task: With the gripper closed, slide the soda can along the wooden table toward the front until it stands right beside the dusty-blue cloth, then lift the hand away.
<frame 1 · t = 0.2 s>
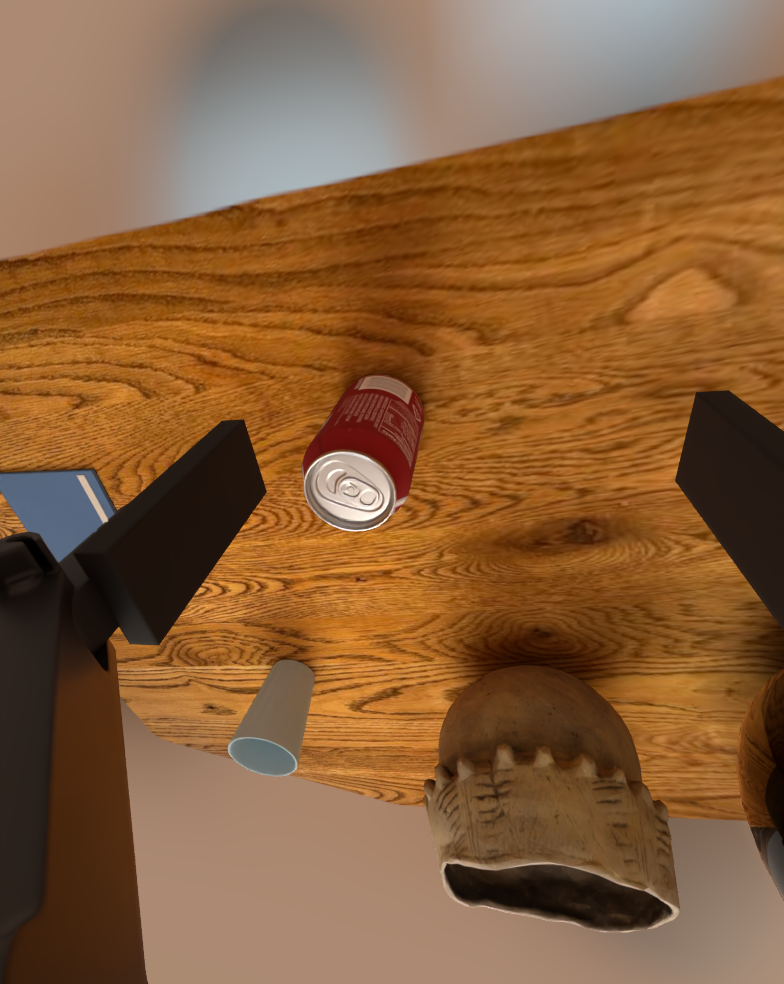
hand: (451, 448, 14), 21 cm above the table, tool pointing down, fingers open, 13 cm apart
clay pot: (524, 683, 52), on the table
cloth: (80, 535, 49), on the table
cup: (294, 671, 57), on the table
soda can: (383, 411, 36), on the table
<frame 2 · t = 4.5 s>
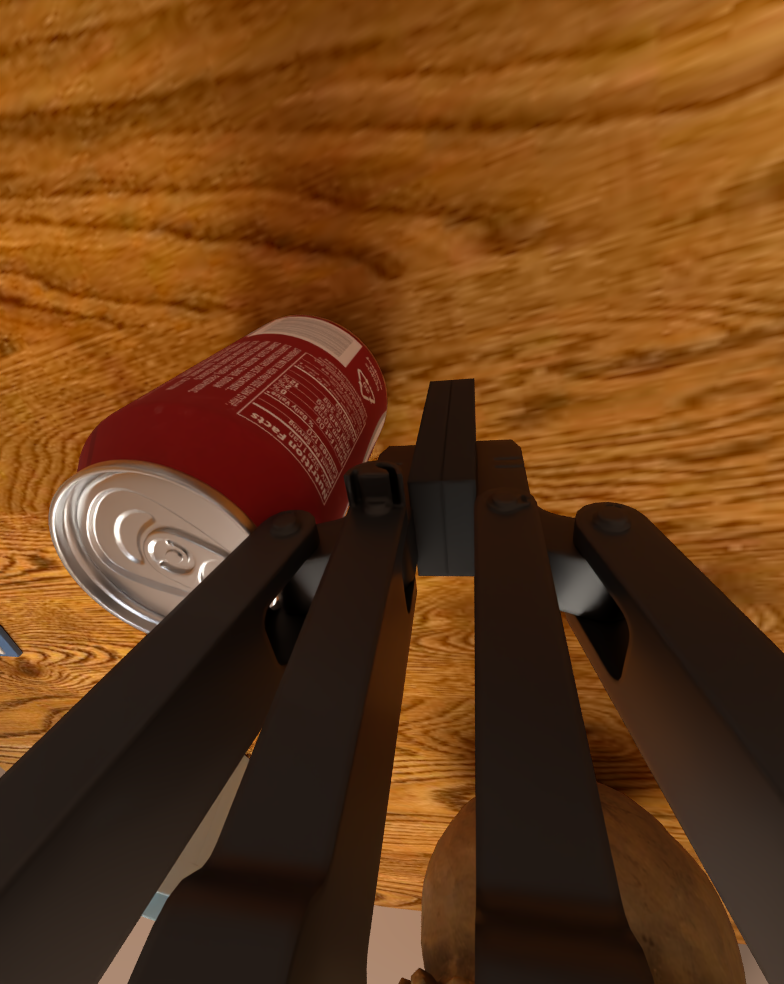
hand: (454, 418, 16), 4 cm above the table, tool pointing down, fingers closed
clay pot: (547, 788, 36), on the table
cup: (226, 758, 41), on the table
soda can: (318, 388, 21), on the table, touching gripper
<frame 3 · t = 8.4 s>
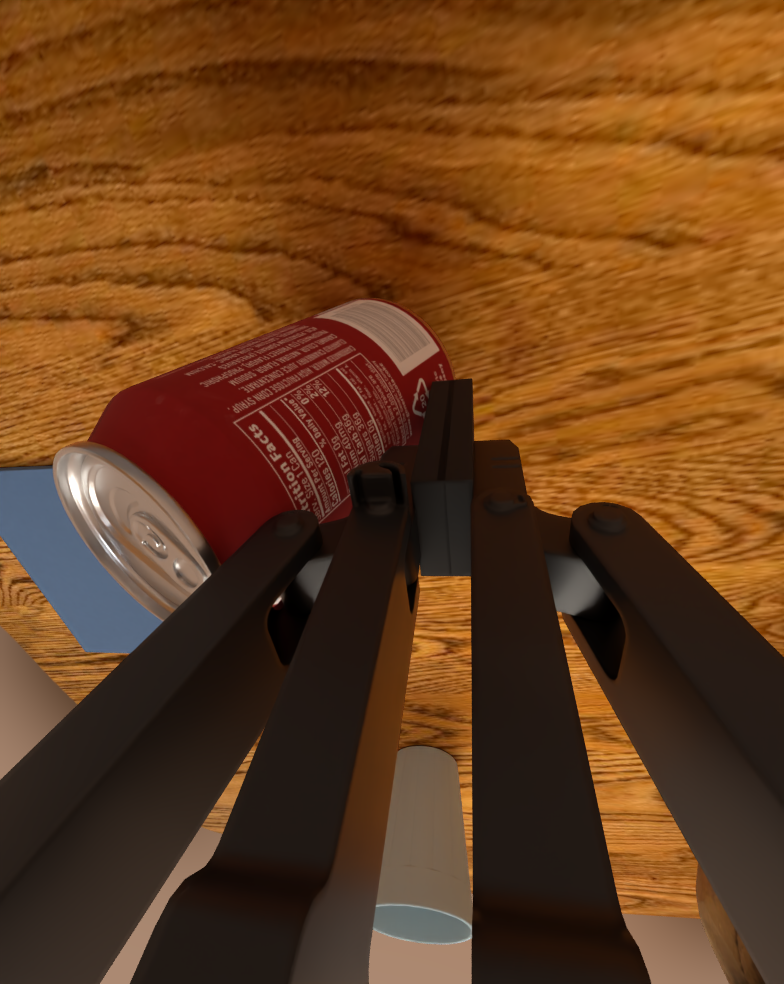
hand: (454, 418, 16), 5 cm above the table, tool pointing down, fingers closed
cloth: (111, 570, 30), on the table
cup: (425, 759, 39), on the table
soda can: (391, 377, 19), point 1 cm above the table, touching gripper
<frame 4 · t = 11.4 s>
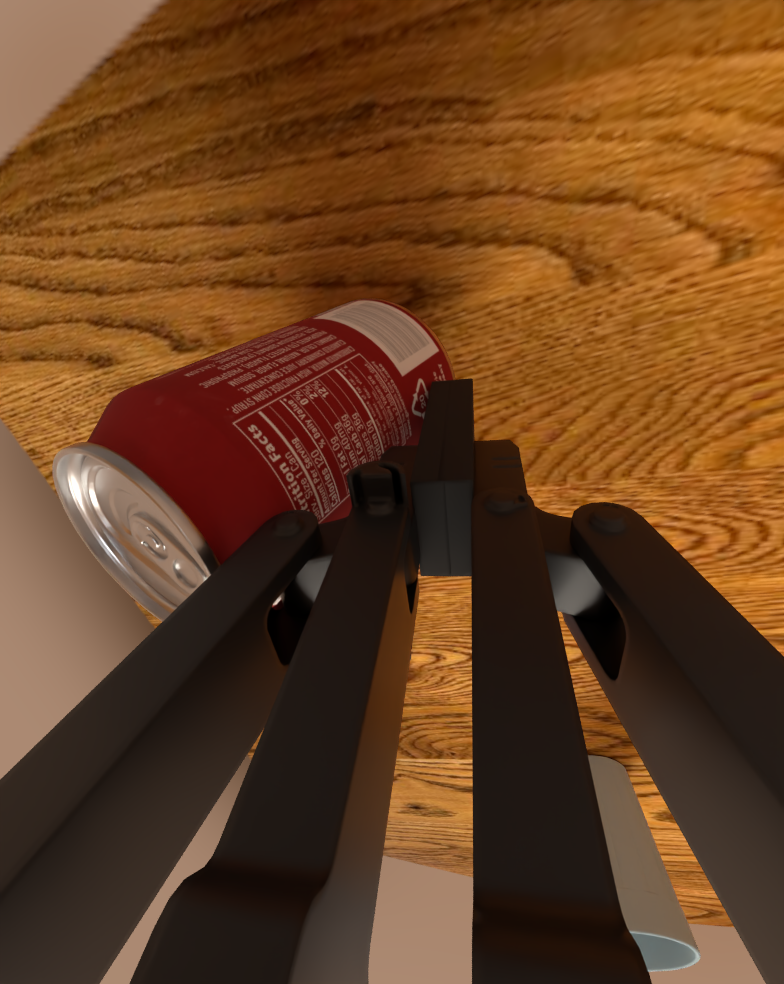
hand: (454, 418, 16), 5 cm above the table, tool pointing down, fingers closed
cup: (589, 769, 36), on the table
soda can: (391, 378, 19), point 1 cm above the table, touching gripper
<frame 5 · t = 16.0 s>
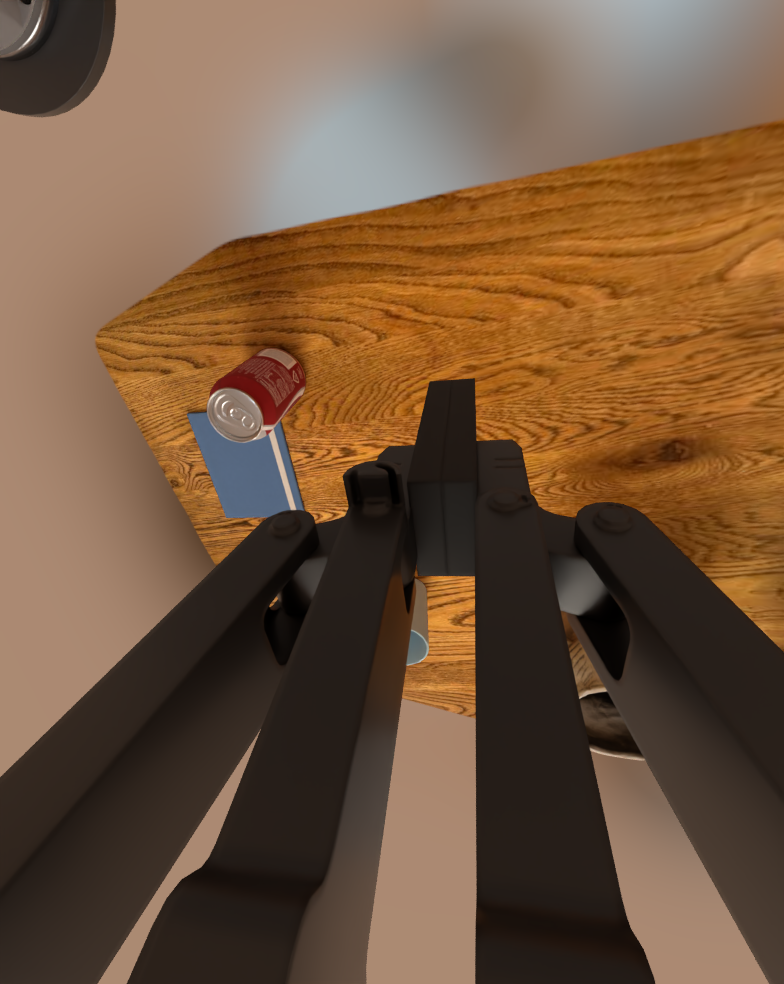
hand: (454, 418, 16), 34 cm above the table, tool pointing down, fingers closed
clay pot: (607, 592, 63), on the table
cloth: (250, 466, 60), on the table
cup: (408, 588, 68), on the table
soda can: (280, 375, 53), on the table
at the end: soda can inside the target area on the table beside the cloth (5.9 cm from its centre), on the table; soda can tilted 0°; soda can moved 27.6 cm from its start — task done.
